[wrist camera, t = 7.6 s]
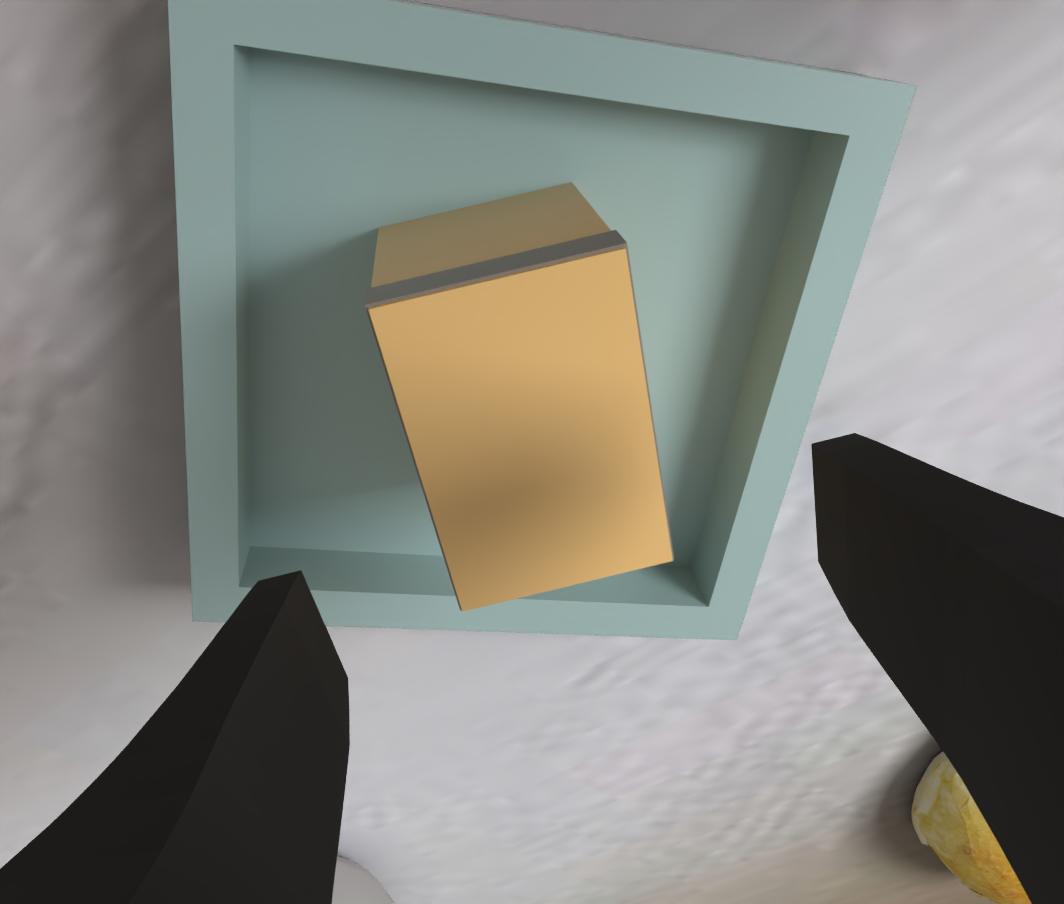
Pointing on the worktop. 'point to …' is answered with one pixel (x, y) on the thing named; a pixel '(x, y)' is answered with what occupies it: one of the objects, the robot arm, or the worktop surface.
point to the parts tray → (473, 178)
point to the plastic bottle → (357, 885)
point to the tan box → (522, 392)
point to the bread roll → (962, 835)
